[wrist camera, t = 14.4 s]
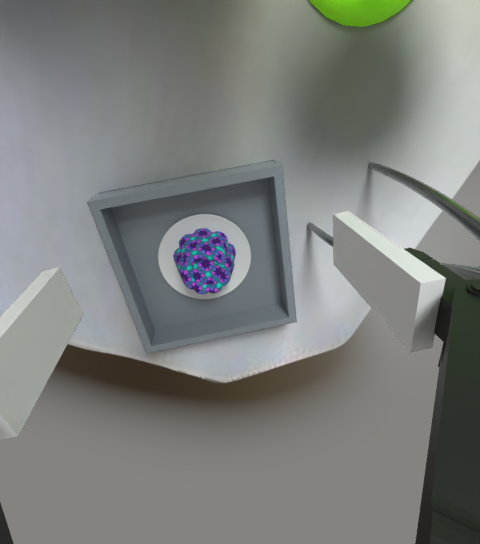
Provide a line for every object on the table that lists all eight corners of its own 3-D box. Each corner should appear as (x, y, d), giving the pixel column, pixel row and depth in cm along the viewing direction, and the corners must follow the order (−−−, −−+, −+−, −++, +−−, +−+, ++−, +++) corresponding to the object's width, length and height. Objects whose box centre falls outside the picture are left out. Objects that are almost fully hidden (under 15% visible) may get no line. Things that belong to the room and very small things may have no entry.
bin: (99, 192, 36) (87, 202, 32) (273, 160, 37) (282, 165, 33) (150, 333, 46) (146, 353, 42) (288, 304, 47) (296, 321, 43)
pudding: (268, 245, 41) (277, 261, 37) (216, 309, 45) (219, 332, 40) (191, 193, 37) (190, 203, 32) (141, 269, 41) (134, 288, 36)
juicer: (373, 161, 39) (757, 253, 12) (379, 240, 44) (661, 427, 17) (299, 185, 39) (519, 328, 12) (313, 261, 44) (492, 478, 17)
